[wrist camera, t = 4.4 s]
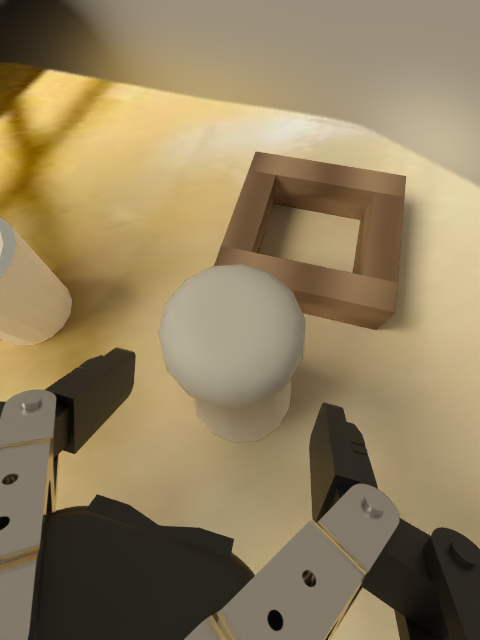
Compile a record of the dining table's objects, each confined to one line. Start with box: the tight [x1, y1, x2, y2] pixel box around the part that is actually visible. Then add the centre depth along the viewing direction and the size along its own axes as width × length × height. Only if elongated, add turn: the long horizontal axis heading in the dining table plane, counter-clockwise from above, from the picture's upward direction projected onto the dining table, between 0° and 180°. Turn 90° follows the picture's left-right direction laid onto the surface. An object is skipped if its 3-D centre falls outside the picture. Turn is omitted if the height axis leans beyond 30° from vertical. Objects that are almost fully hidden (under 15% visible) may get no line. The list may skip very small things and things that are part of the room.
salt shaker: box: [159, 264, 305, 443], centre depth 14 cm, size 6×6×13 cm
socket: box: [214, 152, 406, 330], centre depth 23 cm, size 12×12×3 cm
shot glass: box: [0, 217, 72, 346], centre depth 20 cm, size 7×7×7 cm
